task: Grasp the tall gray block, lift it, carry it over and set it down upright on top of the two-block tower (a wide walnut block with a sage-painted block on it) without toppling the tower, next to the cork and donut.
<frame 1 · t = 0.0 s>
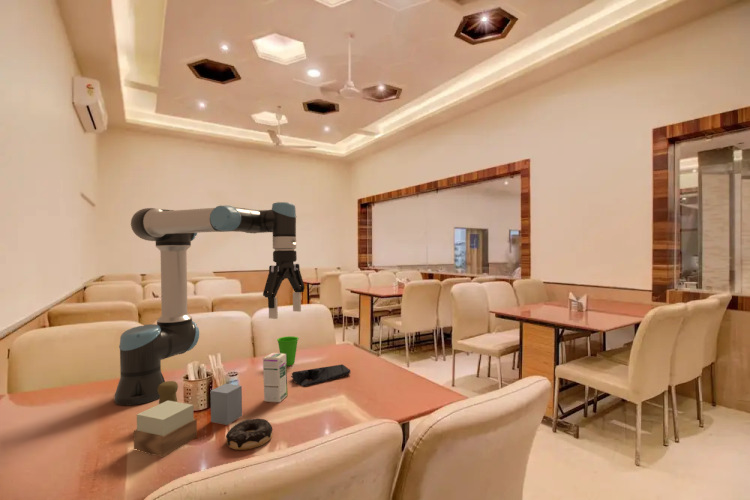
hand: (285, 314, 122), 28 cm above the table, fingers open, 13 cm apart
tower base: (166, 444, 95), on the table, touching tower top
cup: (288, 364, 160), on the table
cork: (168, 420, 109), on the table
gray block: (226, 418, 109), on the table
dark slate chunk: (321, 377, 144), on the table
tower top: (166, 425, 95), point 5 cm above the table, touching tower base
syrup box: (275, 399, 123), on the table
donut: (249, 441, 96), on the table
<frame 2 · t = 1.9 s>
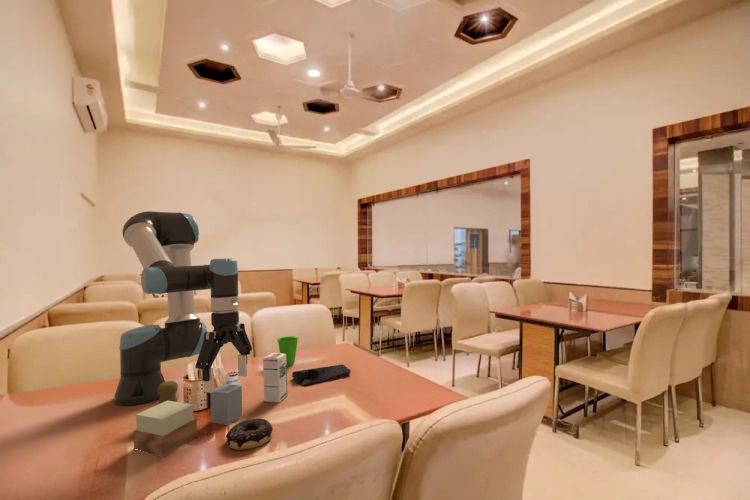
hand: (226, 383, 108), 10 cm above the table, fingers open, 13 cm apart
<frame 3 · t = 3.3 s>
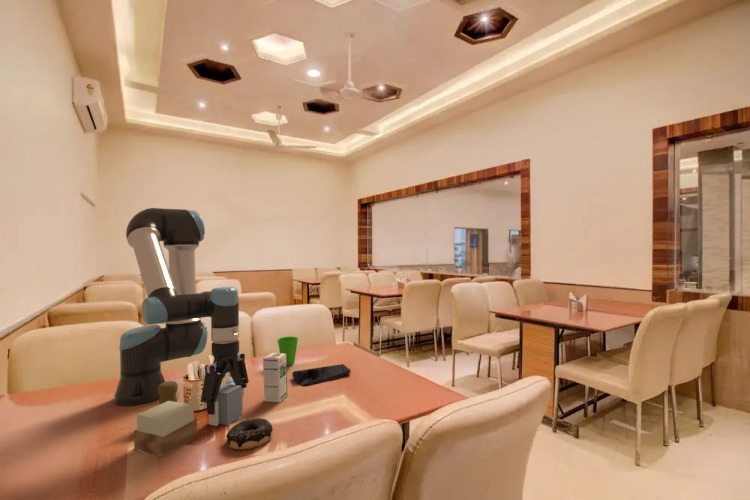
hand: (226, 416, 109), 1 cm above the table, fingers open, 9 cm apart
nothing on the table moved.
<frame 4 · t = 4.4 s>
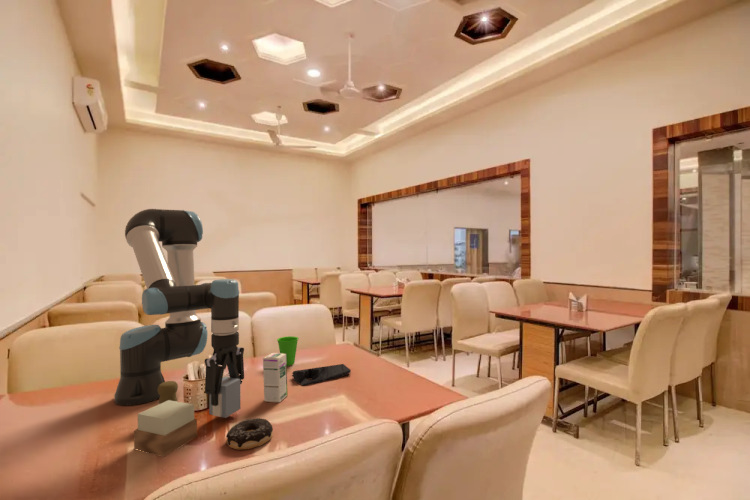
hand: (225, 410, 109), 2 cm above the table, fingers closed on gray block, 6 cm apart
gray block: (225, 411, 109), point 2 cm above the table, touching gripper
everything else where it was.
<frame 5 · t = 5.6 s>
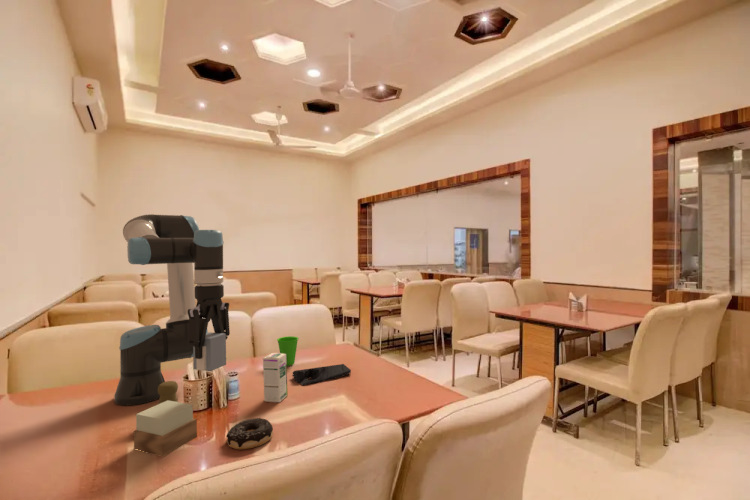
hand: (210, 365, 105), 17 cm above the table, fingers closed on gray block, 6 cm apart
gray block: (210, 366, 105), point 16 cm above the table, touching gripper
everything else where it was.
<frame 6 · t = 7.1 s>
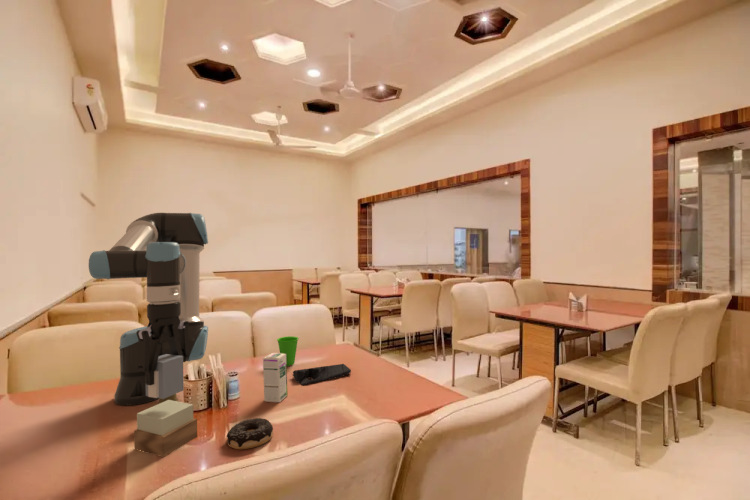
hand: (165, 391, 95), 13 cm above the table, fingers closed on gray block, 6 cm apart
gray block: (165, 393, 95), point 13 cm above the table, touching gripper
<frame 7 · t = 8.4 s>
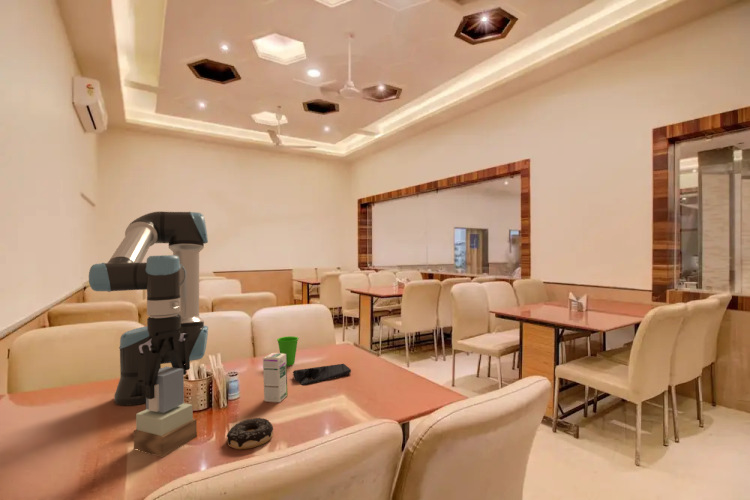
hand: (165, 404, 96), 10 cm above the table, fingers closed on gray block, 6 cm apart
tower base: (166, 444, 95), on the table
gray block: (165, 406, 96), point 9 cm above the table, touching gripper
tower top: (165, 424, 96), point 5 cm above the table
when the fingers open (10 cm above the table, at t = 8.8 s): gray block stays where it is, resting on tower top.
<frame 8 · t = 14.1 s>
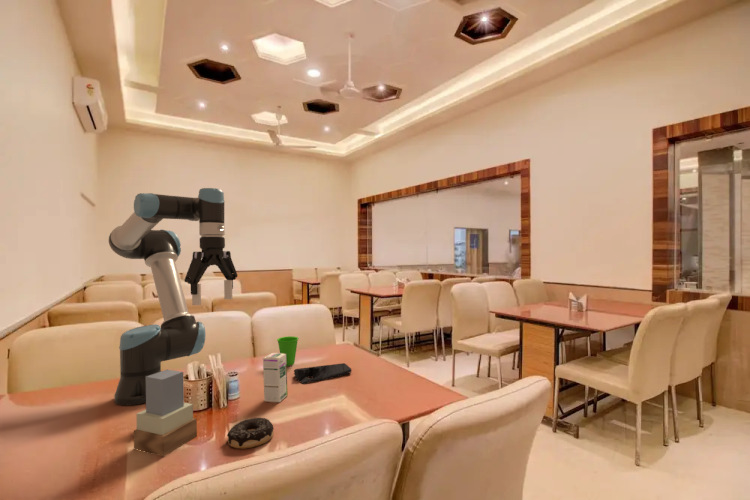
hand: (213, 302, 120), 33 cm above the table, fingers open, 13 cm apart
tower base: (166, 443, 96), on the table, touching tower top
gray block: (165, 409, 95), point 9 cm above the table, touching tower top
tower top: (165, 424, 96), point 5 cm above the table, touching gray block, tower base
at the end: gray block inside the target area on the tower top (0.4 cm from its centre), point 4.0 cm above the tower top's base; gray block tilted 0°; tower top moved 0.5 cm from its start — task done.
